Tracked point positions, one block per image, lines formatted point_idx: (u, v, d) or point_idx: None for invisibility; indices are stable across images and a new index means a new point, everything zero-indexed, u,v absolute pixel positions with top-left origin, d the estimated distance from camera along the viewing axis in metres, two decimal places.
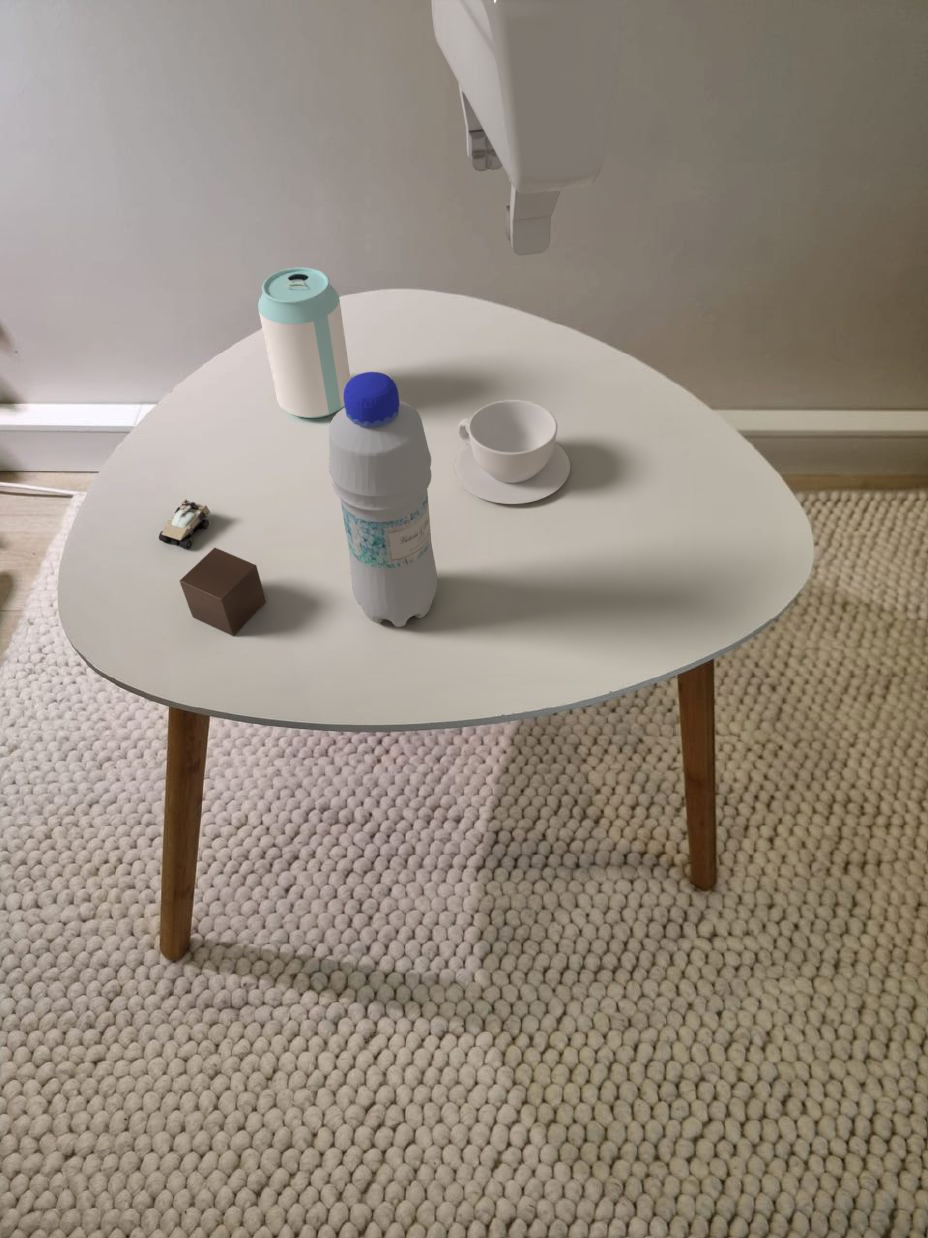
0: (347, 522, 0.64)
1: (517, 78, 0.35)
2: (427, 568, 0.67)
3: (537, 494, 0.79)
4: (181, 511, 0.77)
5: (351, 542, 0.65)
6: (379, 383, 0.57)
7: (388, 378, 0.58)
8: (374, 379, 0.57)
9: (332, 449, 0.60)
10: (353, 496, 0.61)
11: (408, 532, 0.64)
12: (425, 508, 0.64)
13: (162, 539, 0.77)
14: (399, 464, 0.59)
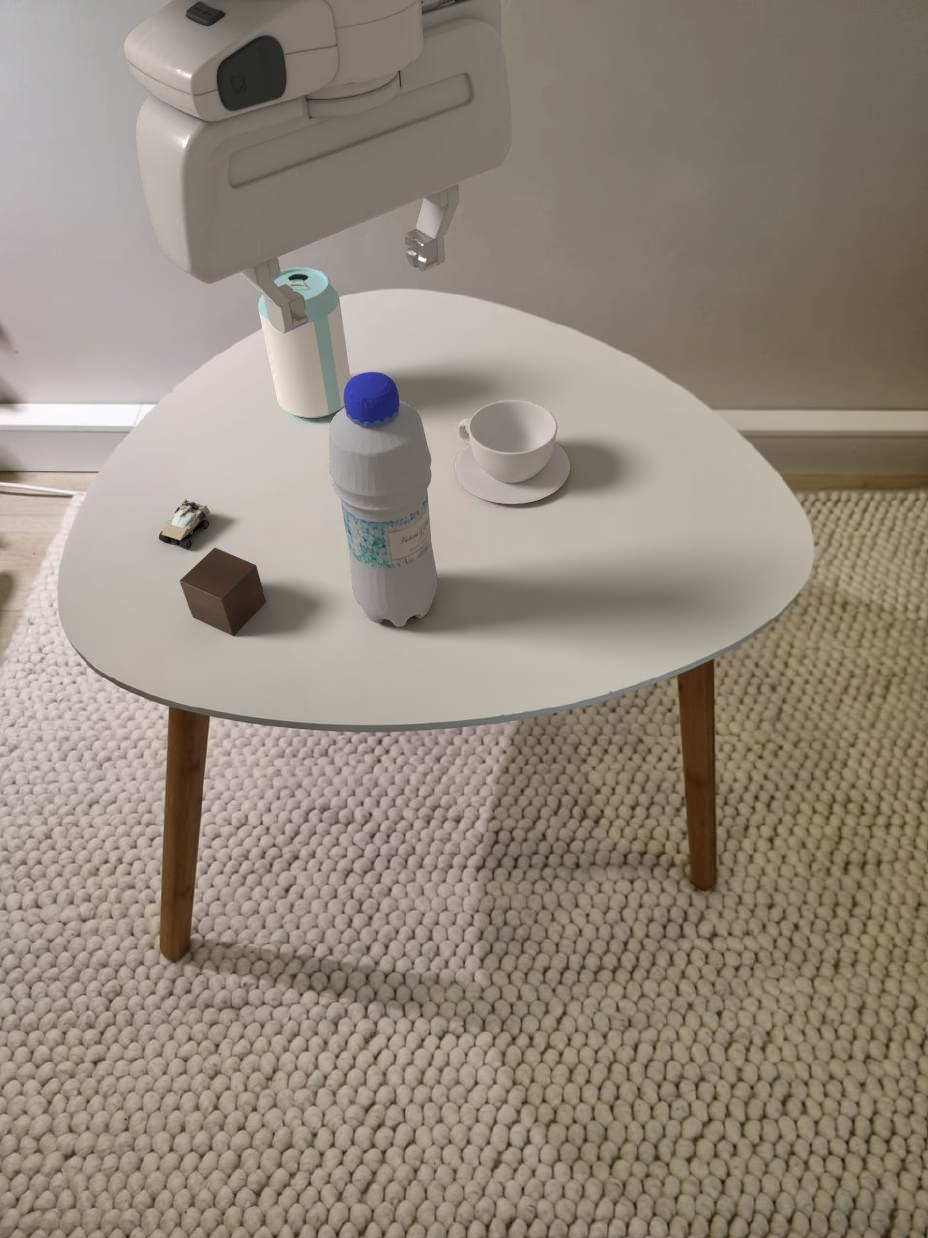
0: (347, 522, 0.64)
1: (141, 171, 0.43)
2: (427, 568, 0.67)
3: (537, 494, 0.79)
4: (181, 511, 0.77)
5: (351, 542, 0.65)
6: (379, 383, 0.57)
7: (388, 378, 0.58)
8: (374, 379, 0.57)
9: (332, 449, 0.60)
10: (353, 496, 0.61)
11: (408, 532, 0.64)
12: (425, 508, 0.64)
13: (162, 539, 0.77)
14: (399, 464, 0.59)
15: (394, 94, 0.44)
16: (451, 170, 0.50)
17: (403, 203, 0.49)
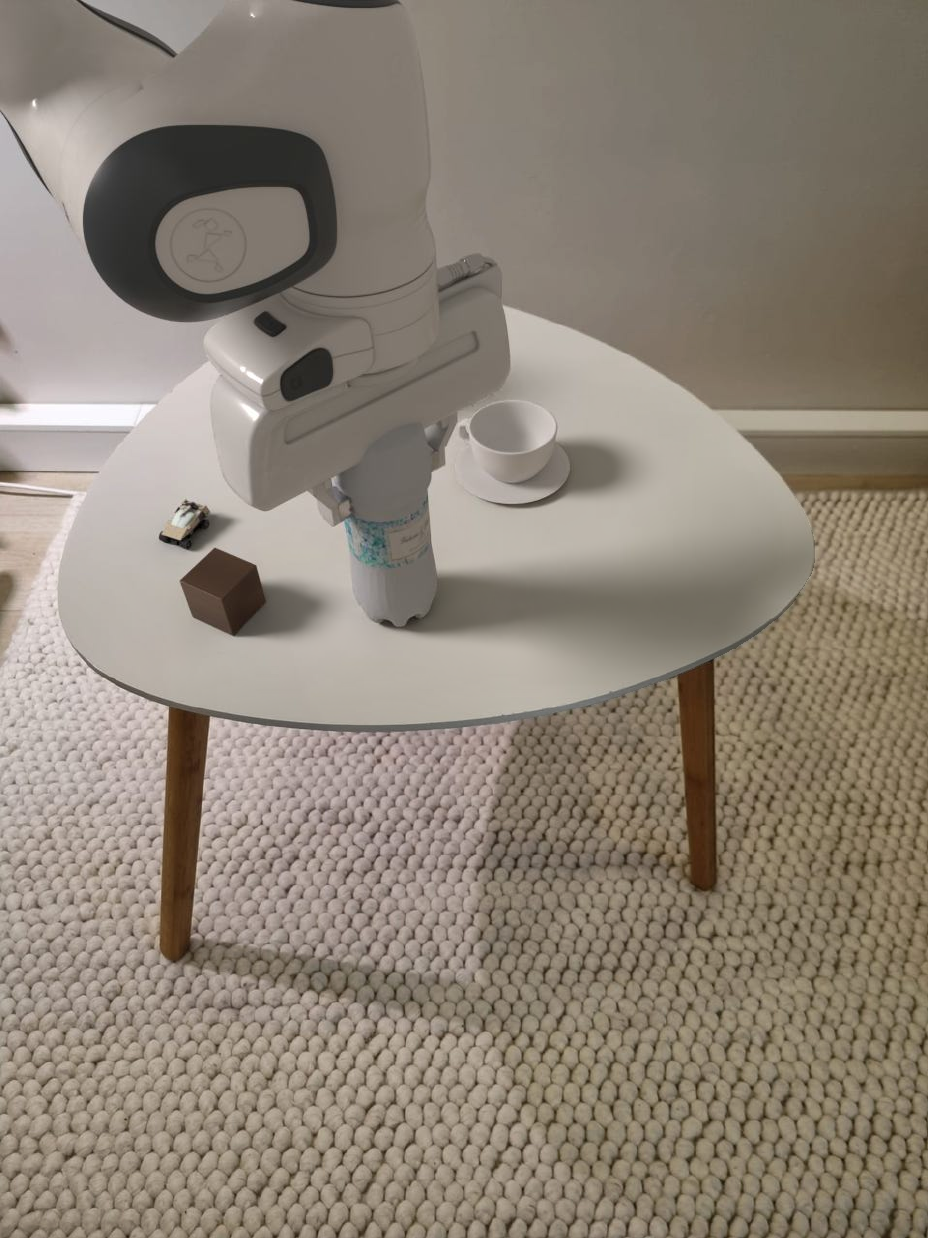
0: (347, 522, 0.64)
1: (213, 428, 0.54)
2: (427, 568, 0.67)
3: (537, 494, 0.79)
4: (181, 511, 0.77)
5: (351, 542, 0.65)
6: None
7: None
8: None
9: None
10: (354, 496, 0.61)
11: (408, 532, 0.64)
12: (425, 508, 0.64)
13: (162, 539, 0.77)
14: (399, 464, 0.59)
15: (416, 362, 0.55)
16: (460, 400, 0.61)
17: None
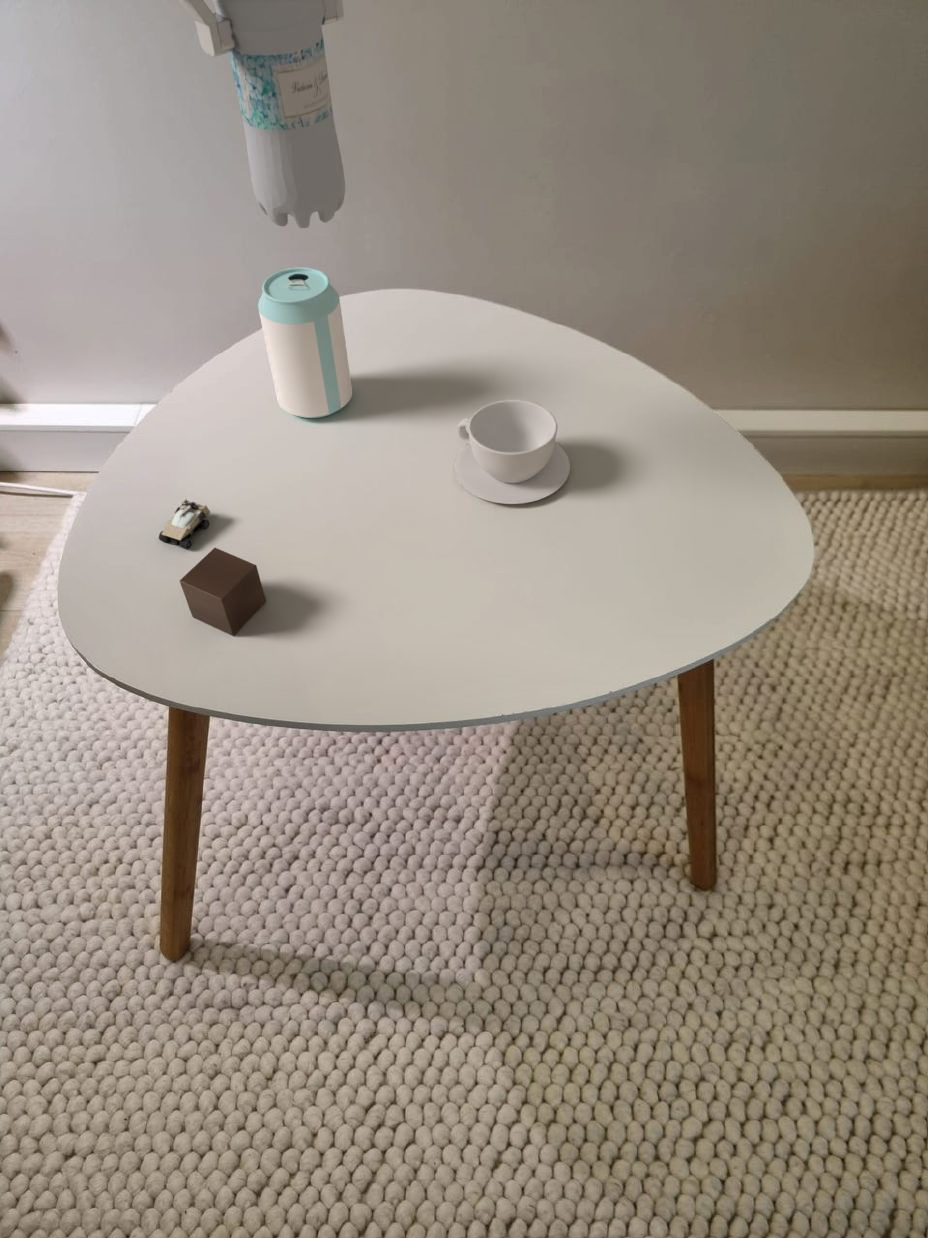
0: (235, 70, 0.59)
1: None
2: (328, 144, 0.62)
3: (537, 494, 0.79)
4: (181, 511, 0.77)
5: (242, 101, 0.60)
6: None
7: None
8: None
9: None
10: (234, 13, 0.55)
11: (300, 77, 0.58)
12: (320, 54, 0.59)
13: (162, 539, 0.77)
14: None
15: None
16: None
17: None
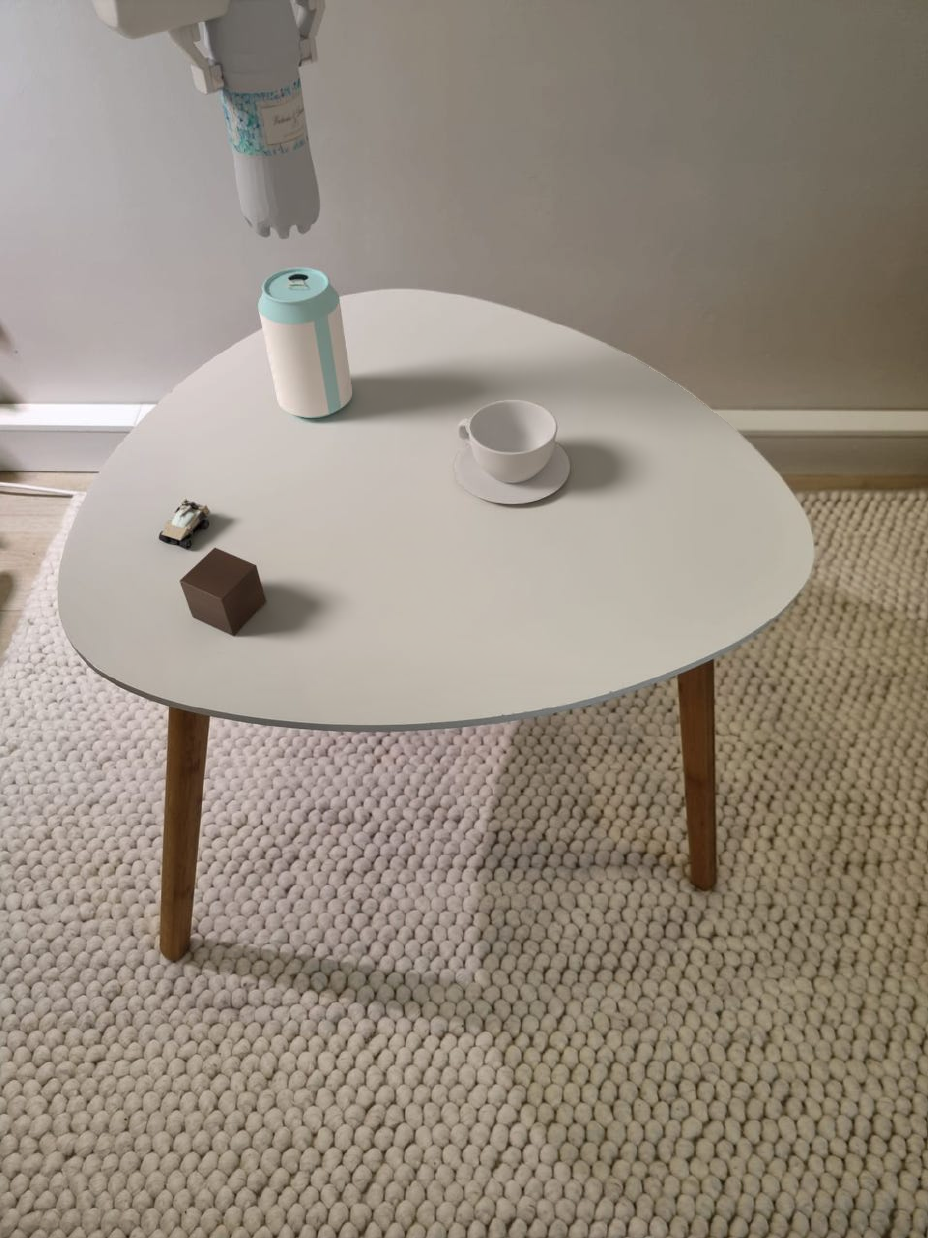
0: (224, 105, 0.69)
1: None
2: (305, 167, 0.72)
3: (537, 494, 0.79)
4: (181, 511, 0.77)
5: (230, 131, 0.70)
6: None
7: None
8: None
9: None
10: (224, 59, 0.66)
11: (280, 111, 0.68)
12: (297, 92, 0.69)
13: (162, 539, 0.77)
14: (263, 18, 0.64)
15: None
16: None
17: None
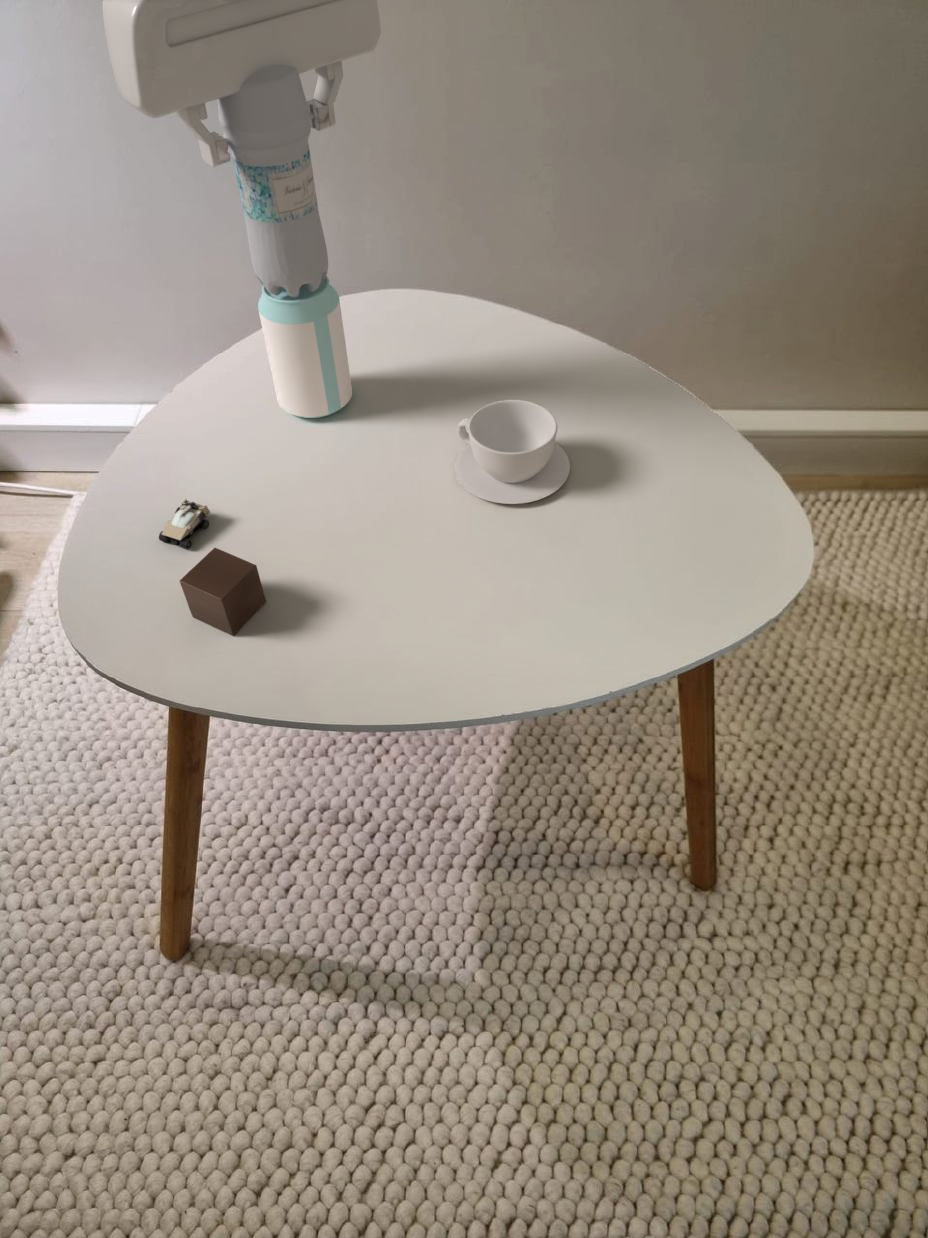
0: (238, 175, 0.73)
1: (106, 34, 0.63)
2: (314, 232, 0.76)
3: (537, 494, 0.79)
4: (181, 511, 0.77)
5: (243, 199, 0.74)
6: None
7: None
8: None
9: None
10: (238, 136, 0.69)
11: (291, 182, 0.72)
12: (306, 163, 0.73)
13: (162, 539, 0.77)
14: (275, 99, 0.68)
15: None
16: (333, 49, 0.70)
17: None
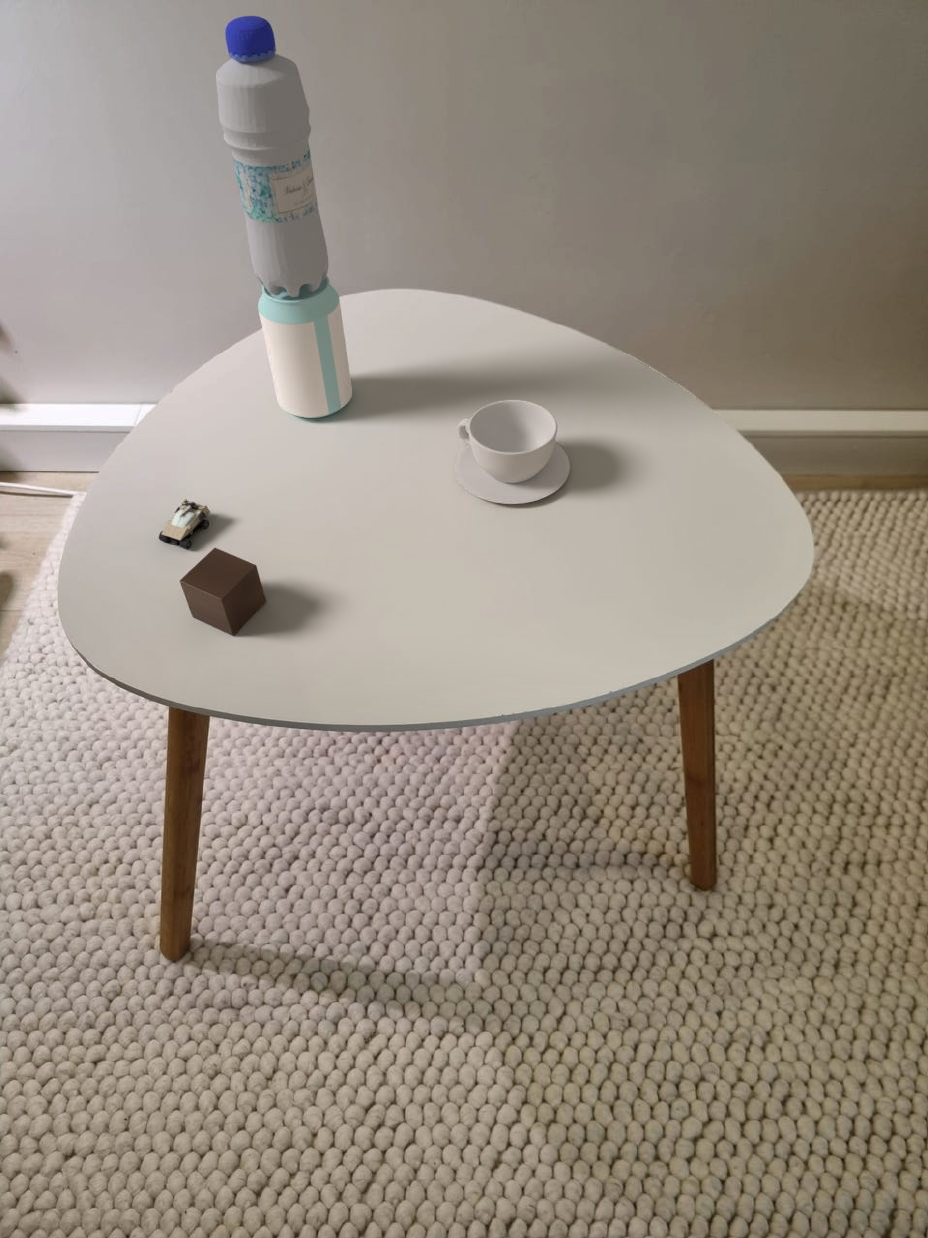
0: (238, 175, 0.73)
1: None
2: (314, 232, 0.76)
3: (537, 494, 0.79)
4: (181, 511, 0.77)
5: (244, 199, 0.74)
6: (255, 20, 0.66)
7: None
8: (251, 17, 0.66)
9: (218, 89, 0.68)
10: (238, 135, 0.69)
11: (291, 182, 0.72)
12: (307, 163, 0.73)
13: (162, 539, 0.77)
14: (275, 99, 0.68)
15: None
16: None
17: None
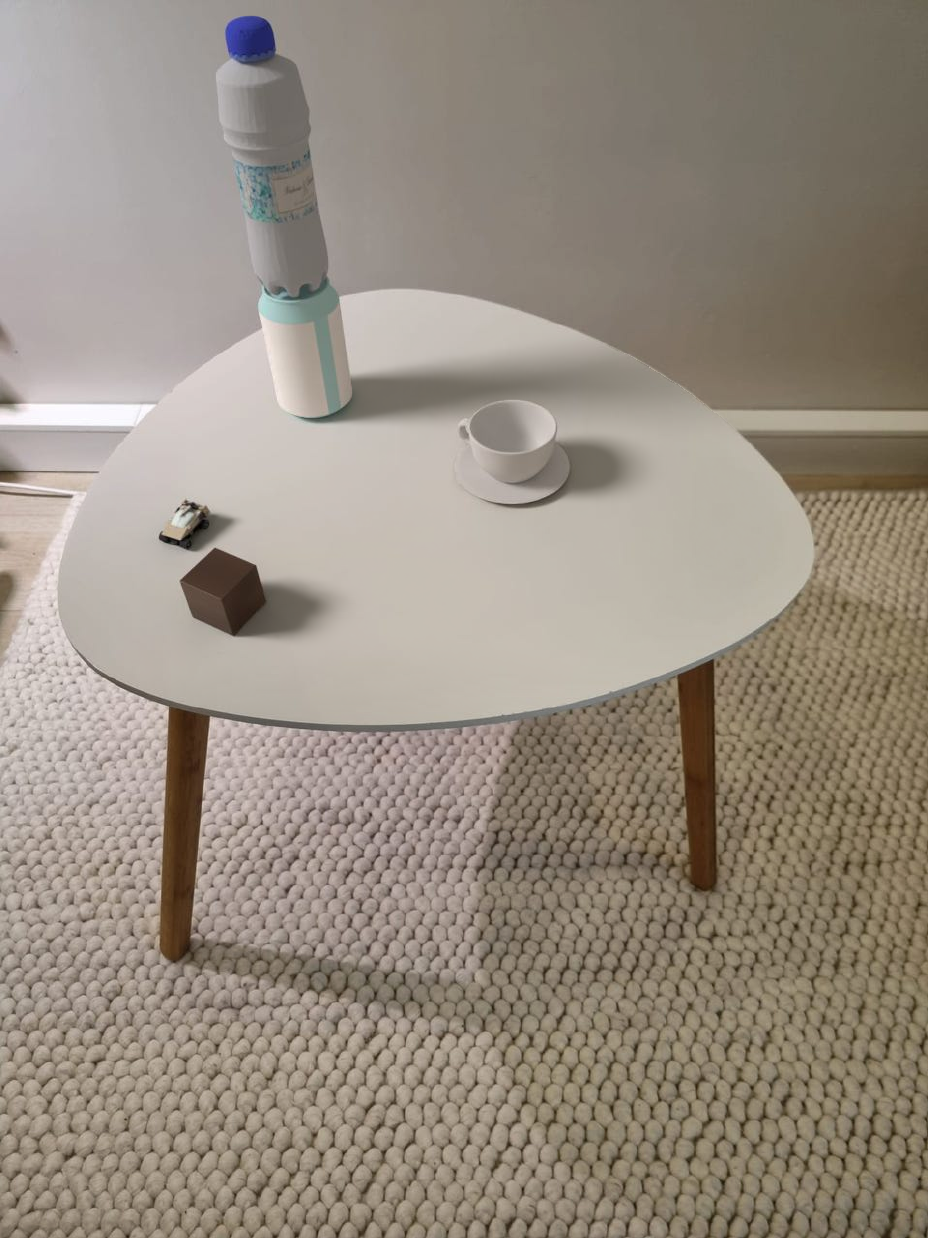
0: (238, 175, 0.73)
1: None
2: (314, 232, 0.76)
3: (537, 494, 0.79)
4: (181, 511, 0.77)
5: (244, 199, 0.74)
6: (255, 20, 0.66)
7: None
8: (251, 17, 0.66)
9: (218, 89, 0.68)
10: (238, 135, 0.69)
11: (291, 182, 0.72)
12: (307, 163, 0.73)
13: (162, 539, 0.77)
14: (275, 99, 0.68)
15: None
16: None
17: None
